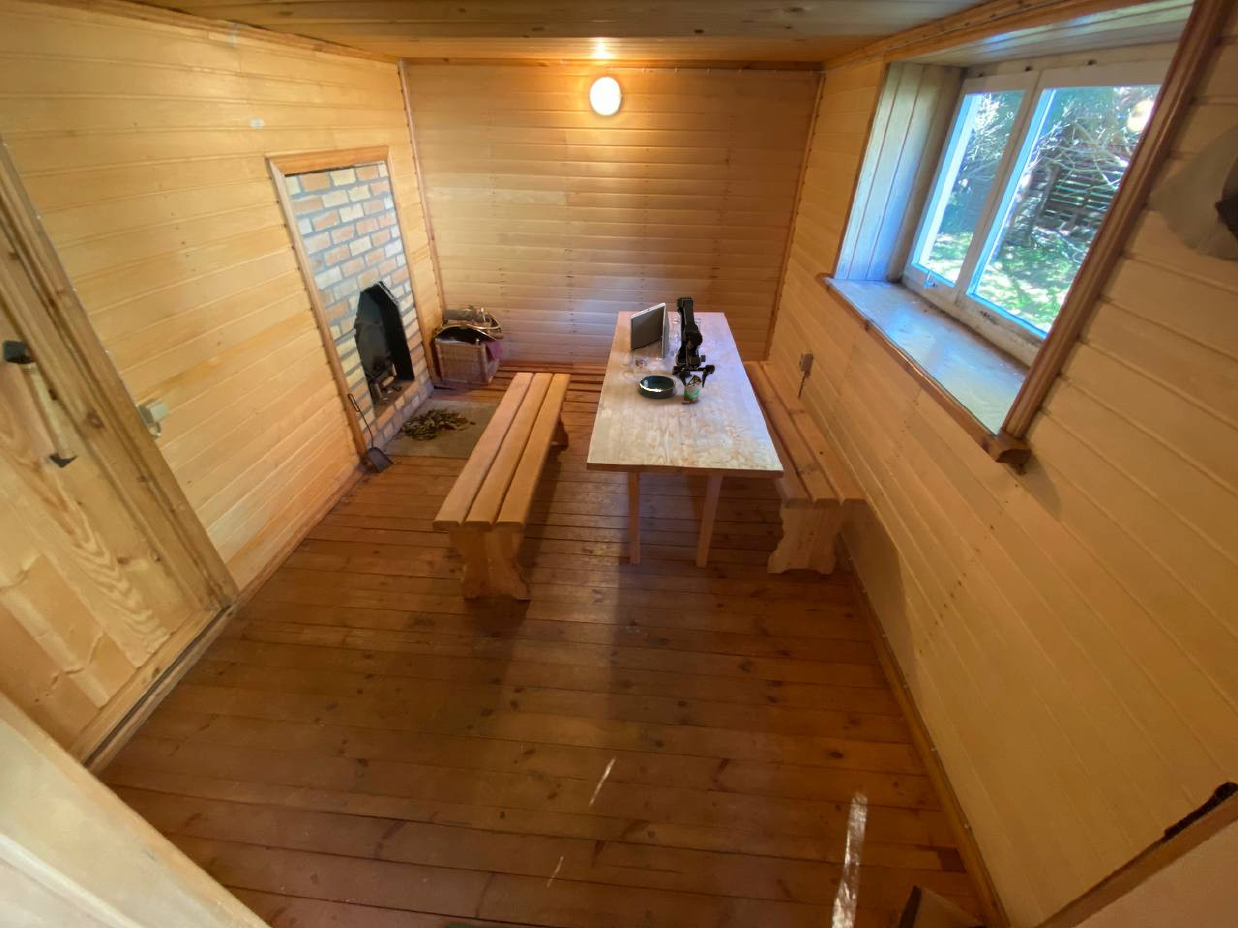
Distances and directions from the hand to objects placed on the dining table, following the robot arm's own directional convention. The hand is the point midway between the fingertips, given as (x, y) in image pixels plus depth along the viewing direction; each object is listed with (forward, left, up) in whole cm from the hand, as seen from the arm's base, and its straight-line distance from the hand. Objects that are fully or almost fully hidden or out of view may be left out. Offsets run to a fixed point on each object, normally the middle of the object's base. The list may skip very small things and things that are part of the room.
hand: (694, 388), depth 228 cm
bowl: (+10, -17, -7) cm, 21 cm away
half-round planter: (-1, -1, -7) cm, 7 cm away
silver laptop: (-12, -69, -7) cm, 70 cm away
